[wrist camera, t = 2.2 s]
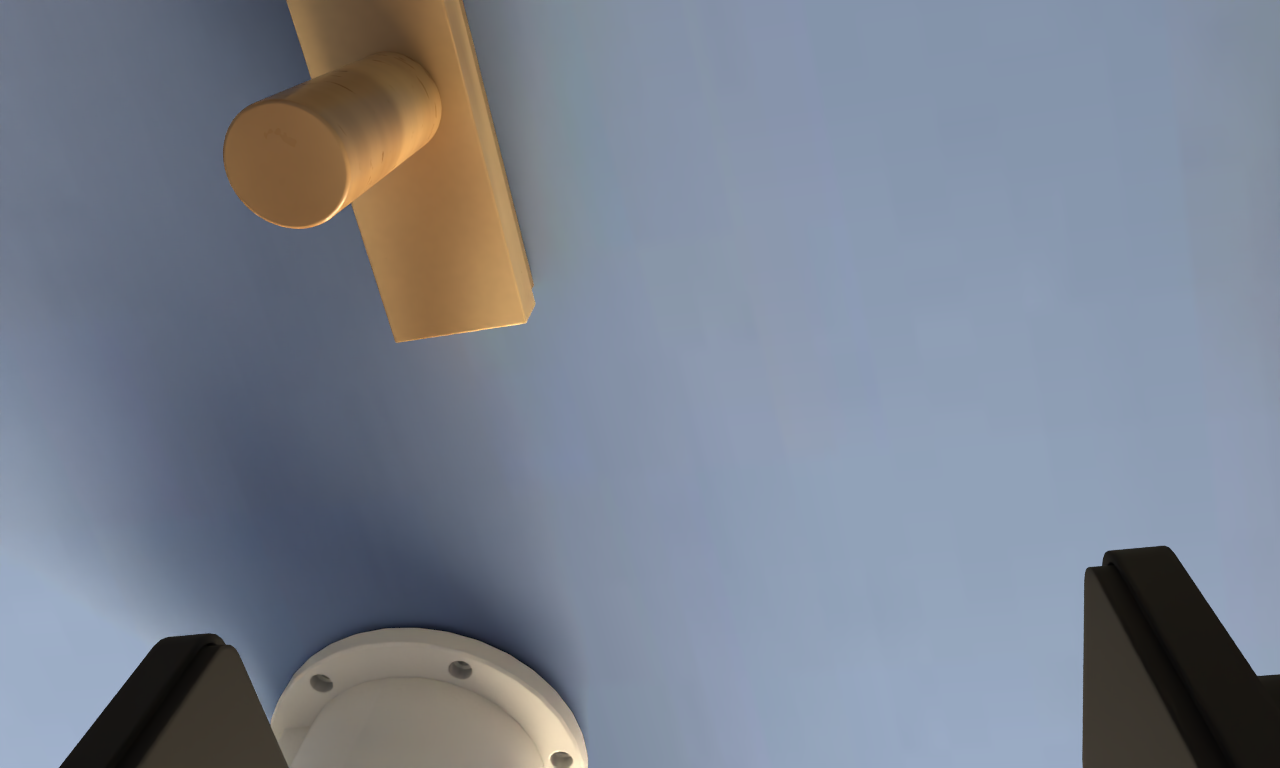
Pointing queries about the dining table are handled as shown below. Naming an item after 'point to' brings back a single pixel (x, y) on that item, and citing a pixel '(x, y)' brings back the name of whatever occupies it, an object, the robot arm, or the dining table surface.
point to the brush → (393, 161)
